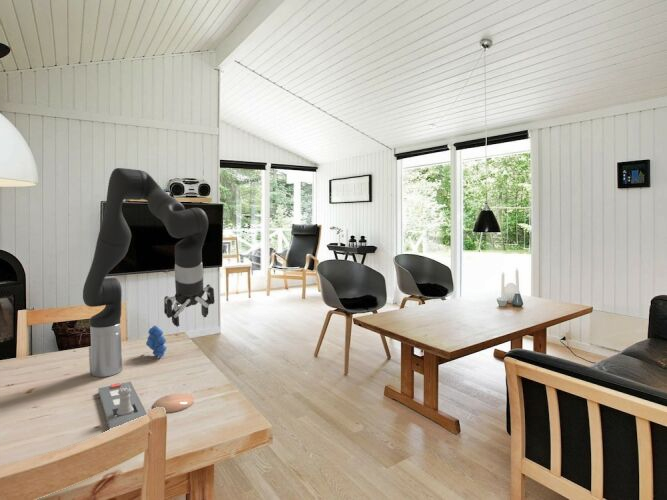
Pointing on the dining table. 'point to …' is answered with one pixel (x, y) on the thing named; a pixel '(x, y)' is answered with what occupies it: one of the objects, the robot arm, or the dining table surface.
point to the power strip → (112, 403)
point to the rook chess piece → (124, 402)
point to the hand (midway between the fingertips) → (190, 320)
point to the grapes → (156, 341)
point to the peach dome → (175, 402)
